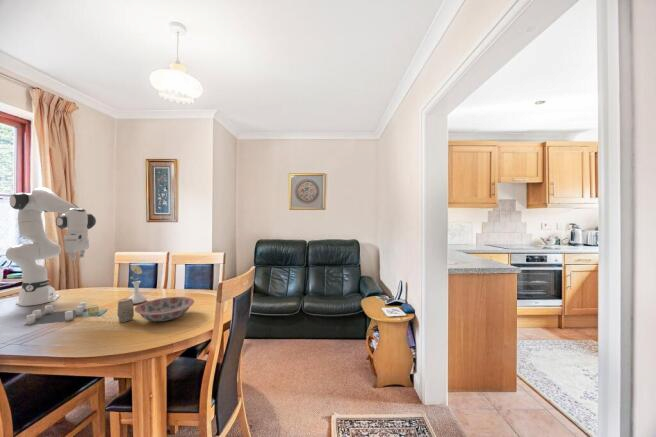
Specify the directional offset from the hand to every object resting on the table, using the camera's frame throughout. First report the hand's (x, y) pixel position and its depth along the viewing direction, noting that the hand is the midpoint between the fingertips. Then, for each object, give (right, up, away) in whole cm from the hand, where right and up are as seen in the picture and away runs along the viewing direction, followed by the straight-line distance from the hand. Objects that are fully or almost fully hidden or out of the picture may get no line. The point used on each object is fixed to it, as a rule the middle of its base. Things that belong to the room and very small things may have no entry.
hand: (77, 258), depth 166 cm
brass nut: (+11, -32, -2) cm, 34 cm away
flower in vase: (+21, -32, +19) cm, 43 cm away
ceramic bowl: (+57, -33, -8) cm, 66 cm away
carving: (+37, -33, -12) cm, 51 cm away
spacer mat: (-4, -32, -8) cm, 33 cm away
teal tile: (+11, -32, -2) cm, 34 cm away
